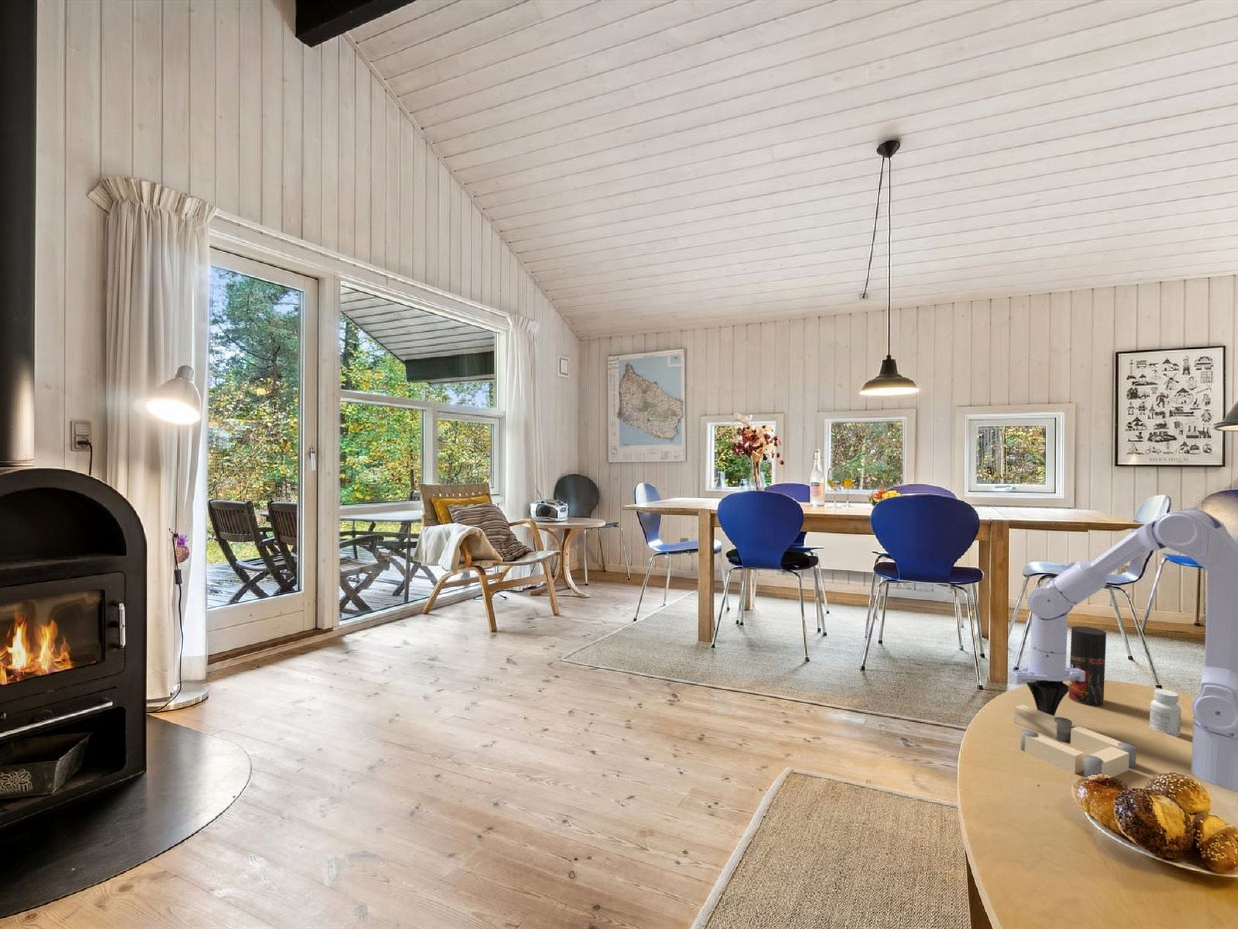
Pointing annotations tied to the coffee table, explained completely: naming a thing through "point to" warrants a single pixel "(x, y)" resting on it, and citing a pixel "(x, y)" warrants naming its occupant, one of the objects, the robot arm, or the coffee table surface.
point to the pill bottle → (1165, 712)
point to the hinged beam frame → (1102, 760)
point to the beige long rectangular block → (1044, 723)
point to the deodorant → (1088, 665)
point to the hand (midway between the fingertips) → (1045, 718)
